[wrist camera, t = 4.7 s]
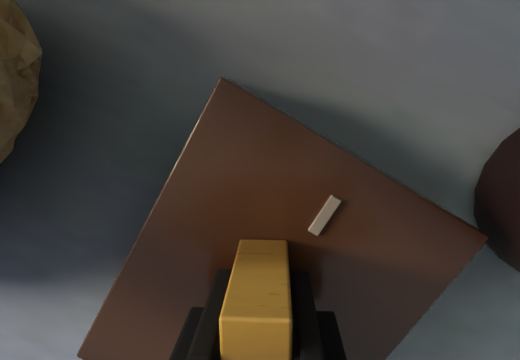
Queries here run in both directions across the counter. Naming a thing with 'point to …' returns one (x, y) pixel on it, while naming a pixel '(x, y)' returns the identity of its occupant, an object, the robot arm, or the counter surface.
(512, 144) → the bottle
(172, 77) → the counter surface
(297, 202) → the lock plate
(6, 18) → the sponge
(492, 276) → the counter surface
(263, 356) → the thumbturn
